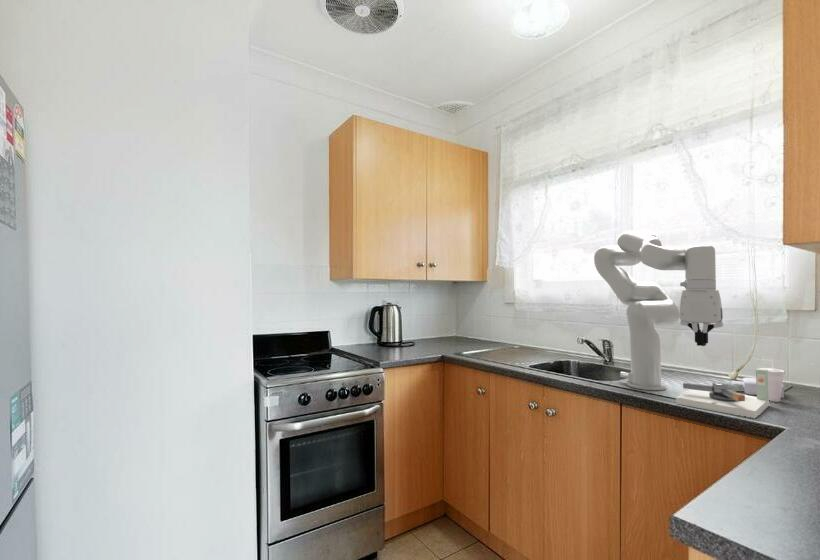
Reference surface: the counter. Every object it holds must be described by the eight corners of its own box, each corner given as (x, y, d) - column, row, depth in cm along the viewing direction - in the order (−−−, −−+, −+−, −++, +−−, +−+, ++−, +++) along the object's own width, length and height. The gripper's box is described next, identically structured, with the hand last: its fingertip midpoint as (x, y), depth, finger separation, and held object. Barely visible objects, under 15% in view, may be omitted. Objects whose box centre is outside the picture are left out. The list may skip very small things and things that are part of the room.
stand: (675, 403, 123) (674, 368, 123) (695, 393, 135) (694, 361, 135) (755, 418, 108) (754, 378, 109) (769, 405, 120) (768, 369, 121)
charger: (723, 387, 144) (779, 393, 135) (725, 393, 136) (784, 399, 127) (723, 374, 144) (779, 379, 135) (724, 379, 136) (783, 385, 127)
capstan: (708, 405, 113) (707, 390, 113) (681, 392, 128) (680, 379, 128) (776, 407, 111) (775, 392, 111) (740, 393, 125) (740, 380, 125)
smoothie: (791, 403, 122) (789, 358, 123) (767, 402, 124) (766, 357, 124) (776, 397, 129) (775, 354, 129) (754, 397, 130) (752, 354, 130)
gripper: (668, 285, 125) (669, 343, 124) (727, 285, 113) (728, 349, 113) (676, 285, 129) (677, 341, 129) (734, 285, 118) (735, 347, 117)
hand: (701, 345), depth 121 cm, fingers closed
